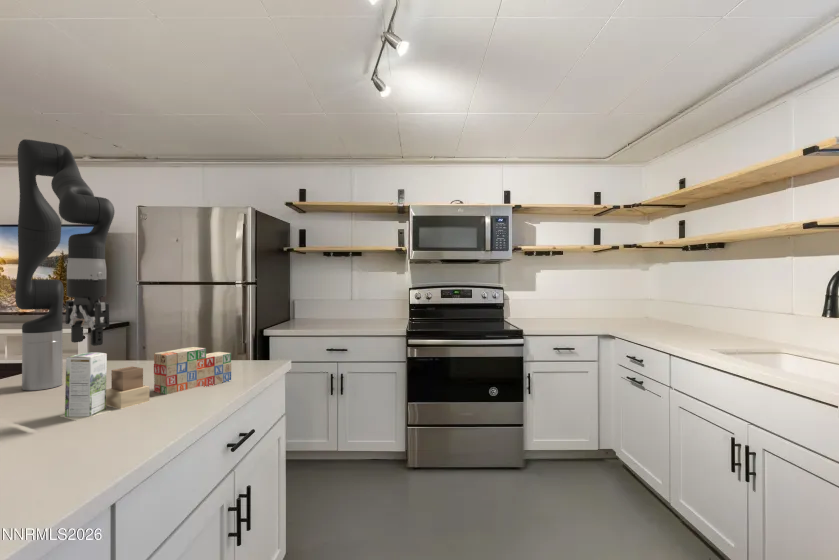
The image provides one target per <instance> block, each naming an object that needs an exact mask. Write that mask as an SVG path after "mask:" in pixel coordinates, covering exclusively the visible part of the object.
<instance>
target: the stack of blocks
mask: <svg viewBox="0 0 839 560" xmlns="http://www.w3.org/2000/svg"><path fill="white" fill-rule="evenodd" d="M153 355H154V356H153V357H154V358H153V379H154V380H153V381H154V382H153V383H154V384H153V389H154V390H153V392H154V393H155V392H156V393H159V394H163V395H171V394H173V393H178V392H183V391H187V390H191V389H196V388H198V387H203V388H206V387H205V386H208V387H210V386H209V385H212V386H214V385H213V384H216V385H219V384H218V383H220V384H223V383H226V382H225V381H228V382H230V381H229V380H231V381H232V352H223V351H215V352H210V353H207V348H206V347H196V346H192V347H183V348H177V349H172V350H166V351H161V352H155V353H154V354H153ZM222 382H223V383H222Z"/></svg>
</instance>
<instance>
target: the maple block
mask: <svg viewBox="0 0 839 560" xmlns="http://www.w3.org/2000/svg"><path fill="white" fill-rule="evenodd" d="M148 401H150V385H149V386H148V385H144V384H143V387H140V388H136V389H131V390H127V391H118V390H113V389H111V388H106V405H108V406H107V407H109V406H112V407H111V408H114V407H117V408H116V409H118V408H121V409H120V410H123V409H126V408H125V407H127V408H130V407H129V406H131V407H134V406H133V405H135V406H137V404H139V405H142V404H145V403H144V402H146V403H149V402H148ZM141 403H142V404H141ZM122 408H123V409H122Z"/></svg>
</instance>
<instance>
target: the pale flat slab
mask: <svg viewBox="0 0 839 560" xmlns="http://www.w3.org/2000/svg"><path fill="white" fill-rule="evenodd" d="M149 402H151V400H149V401H148V402H144V403H141V404H137V405H142V404H145V403H149ZM137 405H133V406H129V407H125V408H122V409H121V408H117V407H112V406H108V405H106V407H110V408H114V409H119V410H123V409H126V408H131V407H135V406H137ZM112 412H113V410H109V409H105V410H103V411H101V412H98V413H96V414H94V415H92V416H89V417H65V414H61V415H60V417H61V418H65V419H68V420H71V421H75V422H77V421H81V420H85V419H89V418H93V417H97V416H100V415H105V414H108V413H112Z"/></svg>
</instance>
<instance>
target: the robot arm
mask: <svg viewBox="0 0 839 560" xmlns="http://www.w3.org/2000/svg"><path fill="white" fill-rule="evenodd" d="M17 169H18V186H19V203H18V221H17V222H18V223H17V245H18V246H17V248H18V249H17V250H18V260H17V261H18V263H17V272H16V273H17V274H16V283H15V291H14V293H15V294H14V295H15V296H14V297H15V298H14V299H15V301H14V302H15V304H16V306H17V308H18V309H20V310H27V311H28V310H29V311H30V310H33V311H34V310H48V312H47V313H46V314H45V315H42V316H41V317H38V318H35V319H32V320H29V321H25V322H24V323H22V325H21V359H22V361H21V389H22V391H41V390H46V389H52V388H57V387H59V386H61V385H63V369H64V368H63V356H64V355H63V353H64V352H63V351H64V350H63V349H64V347H63V346H64V345H63V343H64V341H63V335H64V334H63V308H64V307H63V306H64V296H65V294H64V293H65V292H64V291H65V290H64V289H65V288H64V284H63V282H62V281H61V280H60V279H45V278H44V279H39V278H38V279H33V276H34V274H35V272H36V270H37V269H38V268H39V266H40V265H41V264H42V263H43V262H44V261H45V260H46V259H47V258H48V257H49V256H50V255H51V254H53V252H54V251H55V250H56V249H57V248H58V247H59V245H60V243H61V241H62V240H61V238H62V220H64V221H65V222H68V223H69V224H70V223H71V224H78V225H90V226H92V227H93V228H92V229H91V230H90V231H89V232H85V233H84V232H83V233H76V234H75V233H73V234H71V235H70V236H69V237H68V245H67V246H68V247H67V250H68V251H67V253H68V255H67V256H68V257H67V258H68V259H67V265H66V296H67V297H68V298H73V299H70V300H69V299H68V300H66V301H65V324H66V325H69V326H68V327H70V333H71V334H70V337H71V338H70V341H71V343H81V342H83V341H84V324H85V322H86V323H87V324H88V325H89V327H90V346H94V347H95V346H102V345H103V343H104V342H103V340H104V338H103V336H104V335H103V334H104V329H105V328H109V327H110V303H109V302H107V301H105V302H104V301H103V302H102V301H101V300H100V299H101V298H102V297H103V298H104V297H106V296H107V264H106V242H107V237H108V236H109V235H108V233H109V232H110V231H109V230H110V227H111V225H112V223H113V219H114V218H115V207H114V204H113V203H112V202H111V201H110V200H109V198H106V197H101V196H95V194H94V192H93V190H92V189H91V188H90V186H89V185H88V184H87V183H86V181H85V180H84V179H83V177H82V175H81V172H80V170H79V166H78V164H77V162H76V160H75V157H74V155H73V153H72V152H71V150H70V149H69V148H68V147H67V146H65V145H63V144H60V143H53V142H48V141H47V142H46V141H40V140H33V139H27V138H26V139H25V138H24V139H22V140H21V141H20V142H19V144H18V147H17ZM37 176H42V177H50V178H51V177H52V179H51V189H52V191H53V193H54V195H55V196H56V197H57V199H58V200H59V203H58V213H57V212H56V210H55V209H54V208H53V206H52V205H51V204H50V203H49V202H48V201H47V199H46V198H45V197H44V195H43V194H42V192H41V190H40V188H39V186H38V183H37ZM61 219H62V220H61Z"/></svg>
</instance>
